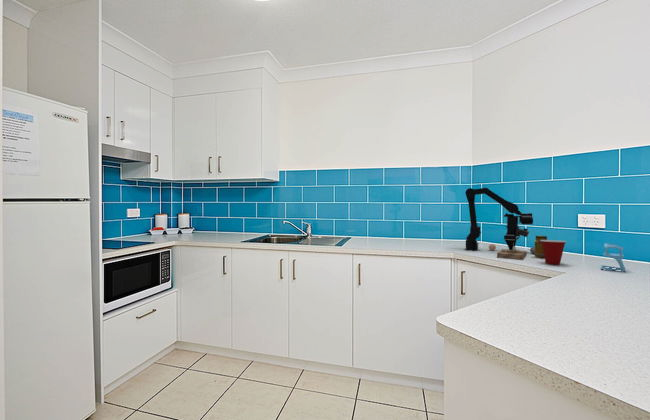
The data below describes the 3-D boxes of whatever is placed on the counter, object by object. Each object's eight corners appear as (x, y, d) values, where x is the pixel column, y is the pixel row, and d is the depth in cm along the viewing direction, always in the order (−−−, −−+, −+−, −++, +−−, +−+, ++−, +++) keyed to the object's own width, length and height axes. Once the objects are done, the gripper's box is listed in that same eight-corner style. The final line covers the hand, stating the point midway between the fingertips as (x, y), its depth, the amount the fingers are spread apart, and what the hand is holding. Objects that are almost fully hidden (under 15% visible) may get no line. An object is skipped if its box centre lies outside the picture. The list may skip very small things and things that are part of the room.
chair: (626, 273, 133) (627, 245, 132) (600, 270, 138) (601, 243, 138) (625, 269, 138) (626, 243, 138) (600, 267, 144) (601, 241, 143)
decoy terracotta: (488, 250, 193) (488, 244, 193) (489, 249, 196) (489, 243, 196) (495, 251, 191) (495, 244, 190) (496, 250, 194) (496, 243, 194)
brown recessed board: (497, 257, 170) (497, 253, 170) (502, 253, 183) (502, 249, 183) (522, 259, 163) (522, 255, 163) (526, 255, 175) (526, 251, 175)
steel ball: (508, 252, 186) (508, 245, 186) (509, 251, 189) (509, 244, 189) (515, 252, 184) (515, 246, 183) (516, 251, 187) (516, 245, 187)
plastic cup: (563, 262, 156) (563, 238, 155) (569, 266, 146) (569, 241, 145) (537, 260, 160) (537, 238, 160) (541, 264, 151) (541, 240, 150)
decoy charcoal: (529, 254, 179) (529, 247, 179) (530, 253, 182) (530, 246, 182) (537, 254, 177) (537, 247, 176) (538, 253, 180) (538, 246, 180)
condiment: (536, 256, 173) (536, 235, 173) (554, 258, 167) (554, 236, 166) (531, 257, 169) (531, 236, 168) (550, 259, 162) (550, 237, 162)
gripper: (526, 226, 174) (526, 253, 174) (530, 223, 188) (529, 248, 188) (503, 225, 181) (503, 251, 181) (509, 223, 195) (509, 247, 196)
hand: (512, 249), depth 186 cm, fingers open, 9 cm apart
